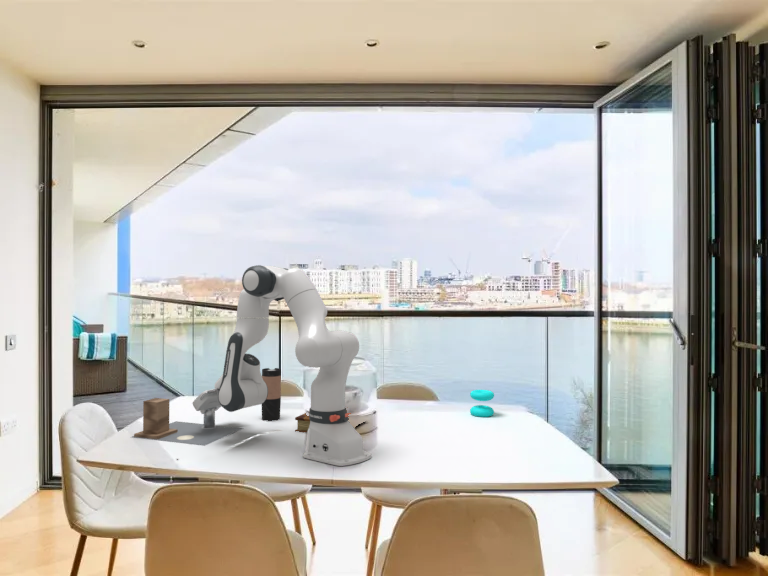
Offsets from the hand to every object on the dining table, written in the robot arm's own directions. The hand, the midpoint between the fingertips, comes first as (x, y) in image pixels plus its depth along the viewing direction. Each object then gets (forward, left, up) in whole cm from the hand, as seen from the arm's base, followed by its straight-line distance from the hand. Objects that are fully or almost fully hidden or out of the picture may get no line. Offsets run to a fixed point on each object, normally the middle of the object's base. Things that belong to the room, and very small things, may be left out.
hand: (208, 411), depth 205 cm
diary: (-28, -36, -8) cm, 46 cm away
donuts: (-56, -95, -7) cm, 111 cm away
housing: (+3, +18, -6) cm, 19 cm away
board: (-3, +9, -7) cm, 11 cm away
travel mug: (-2, -26, -7) cm, 27 cm away
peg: (-1, 0, -6) cm, 6 cm away
